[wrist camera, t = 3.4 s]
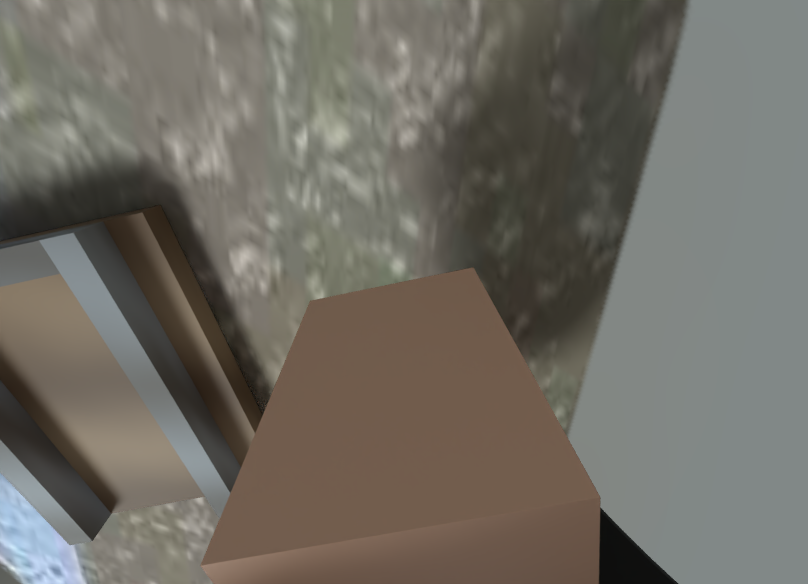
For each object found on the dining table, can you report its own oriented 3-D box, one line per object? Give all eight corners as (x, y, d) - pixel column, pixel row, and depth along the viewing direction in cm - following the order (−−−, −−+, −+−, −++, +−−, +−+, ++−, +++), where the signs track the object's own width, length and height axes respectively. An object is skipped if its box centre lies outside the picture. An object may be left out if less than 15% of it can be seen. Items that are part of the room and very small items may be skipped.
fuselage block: (507, 511, 13) (594, 803, 7) (391, 531, 13) (393, 828, 8) (473, 267, 9) (599, 496, 4) (309, 300, 9) (200, 566, 4)
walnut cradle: (285, 463, 17) (272, 509, 15) (80, 501, 18) (41, 550, 16) (160, 204, 12) (116, 223, 10) (-122, 268, 13) (-216, 297, 11)
